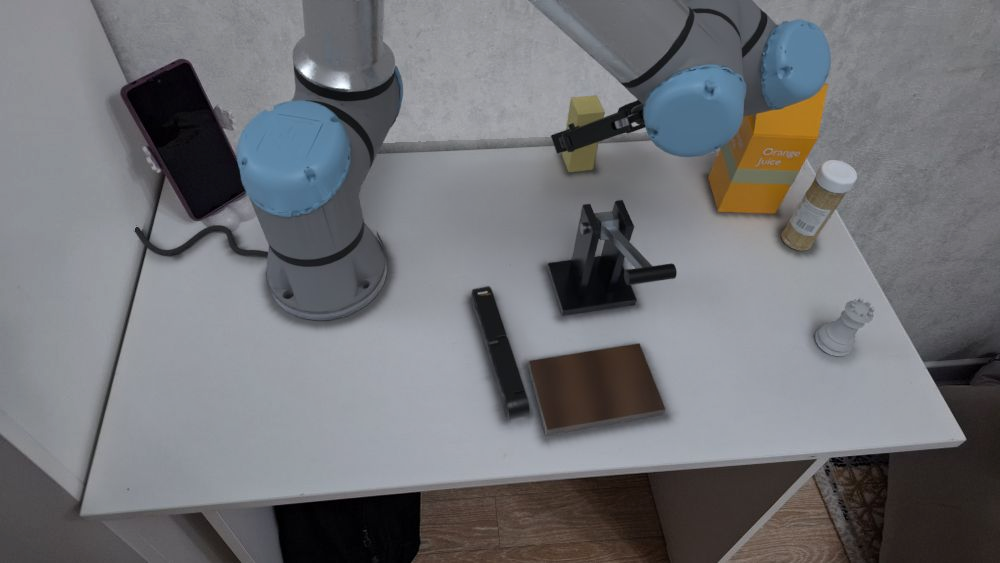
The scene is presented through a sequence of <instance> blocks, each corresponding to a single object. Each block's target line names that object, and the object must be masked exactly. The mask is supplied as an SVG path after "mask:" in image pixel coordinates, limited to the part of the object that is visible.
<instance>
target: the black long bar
mask: <svg viewBox="0 0 1000 563" xmlns="http://www.w3.org/2000/svg"><path fill="white" fill-rule="evenodd" d="M471 303H472V306H473V310H474V313H475V317H476V320H477V323H478V327H479V330H480V333H481V337H482V340H483V343H484V346H485V349H486V353H487V357H488V359H489V363H490V366H491V371H492V373H493V376H494V380H495V383H496V386H497V390H498V393H499V396H500V400H501V403H502V406H503V410H504V413H505V414H504V415H505V417H506V418H507V420H512V419H515V418H521V417H525V416H528V415H530V412H531V411H530V410H531V409H530V402H529V398H528V395H527V393H526V391H525V390H526V389H525V387H524V383H523V379H522V378H521V374H520V371H519V368H518V366H517V362H516V359H515V355H514V352H513V350H512V347H511V343H510V340H509V338H508V334H507V332H506V329H505V326H504V323H503V320H502V316H501V314H500V311H499V308H498V305H497V302H496V298H495V296H494V292H493V289H492V287H491V286H489V285H487V286H481V287H477V288H472V290H471Z"/></svg>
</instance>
